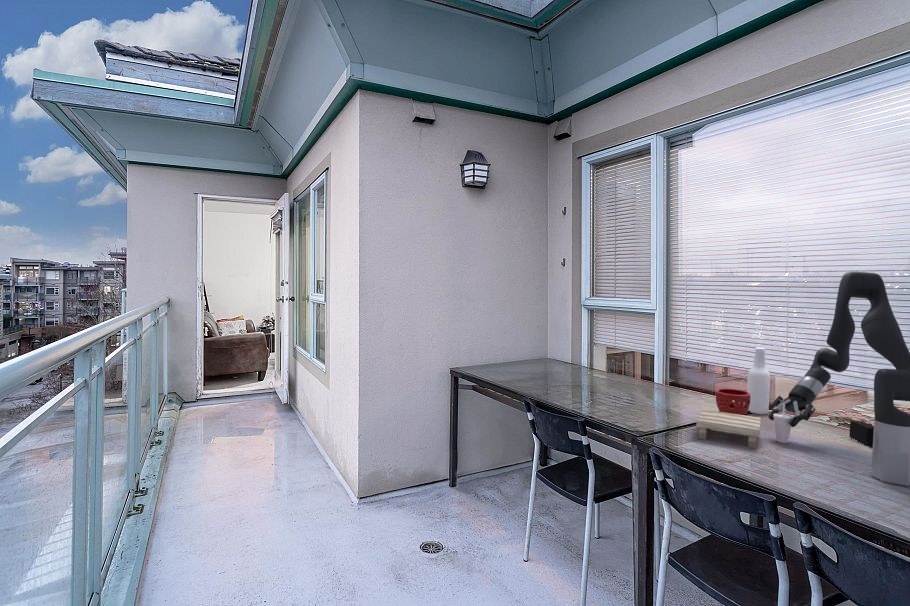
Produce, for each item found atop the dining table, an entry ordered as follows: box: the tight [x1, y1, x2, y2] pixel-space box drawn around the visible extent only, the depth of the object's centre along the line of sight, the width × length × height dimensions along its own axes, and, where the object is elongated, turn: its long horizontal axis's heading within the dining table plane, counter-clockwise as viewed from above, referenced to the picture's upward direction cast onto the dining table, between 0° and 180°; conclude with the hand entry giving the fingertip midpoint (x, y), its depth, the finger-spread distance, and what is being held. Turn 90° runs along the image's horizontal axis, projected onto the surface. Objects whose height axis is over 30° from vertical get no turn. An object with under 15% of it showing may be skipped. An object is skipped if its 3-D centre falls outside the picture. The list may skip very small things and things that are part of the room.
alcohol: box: [746, 346, 771, 416], centre depth 223 cm, size 9×9×30 cm
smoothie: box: [773, 404, 794, 444], centre depth 180 cm, size 6×6×14 cm
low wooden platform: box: [696, 409, 762, 449], centre depth 184 cm, size 20×20×7 cm
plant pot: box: [715, 388, 750, 416], centre depth 212 cm, size 13×13×12 cm
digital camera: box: [848, 420, 874, 448], centre depth 181 cm, size 10×5×7 cm, turn 169°
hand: (780, 422), depth 180 cm, fingers open, 8 cm apart
